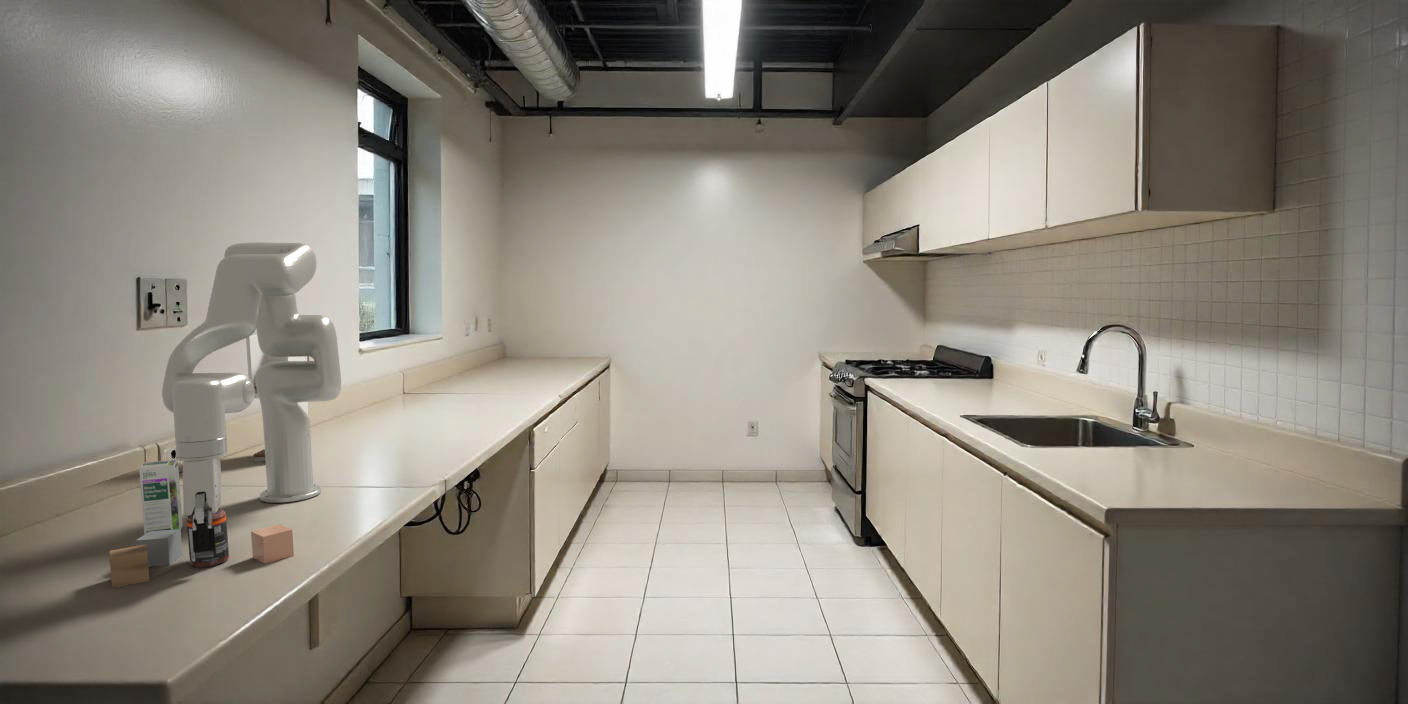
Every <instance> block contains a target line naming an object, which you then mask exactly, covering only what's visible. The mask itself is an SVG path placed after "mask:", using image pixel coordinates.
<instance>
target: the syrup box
mask: <svg viewBox="0 0 1408 704" xmlns="http://www.w3.org/2000/svg"><path fill="white" fill-rule="evenodd" d="M179 470H180V469H179V460H177V458H175V459H167V460H156V461H154V460H153V461H144V462H143V463H142V464H140V467H139V472H138V473H139V485H140V493H141V495H140V496H141V505H142V506H141V507H142V516H143V517H142V518H143V535H145V534H146V533H148V532H149V531H161V530H176V529H181V530H182V528H183V515H182V514H183V513H182V498H181V485H180V471H179Z"/></svg>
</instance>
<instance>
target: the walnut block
mask: <svg viewBox="0 0 1408 704" xmlns="http://www.w3.org/2000/svg"><path fill="white" fill-rule="evenodd" d="M109 567H110V579H111V588H112V589H115V588H120V587H124V586H123V585H125V586H129V585H128V584H130V585H135V584H139V582H140V583H144V581H146V582H149V581H150V571H149V569H150V568H149V567H148V555H147V544H145V545H139V546H136V545H135V546H128V547H124V548H117V549H113V550H109ZM134 583H135V584H134ZM119 586H120V587H119ZM114 587H115V588H114Z"/></svg>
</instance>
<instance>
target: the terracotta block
mask: <svg viewBox="0 0 1408 704" xmlns="http://www.w3.org/2000/svg"><path fill="white" fill-rule="evenodd" d="M250 533H251V535H250V537H251V549H252V551H251V552H252V558H253V559H255V560H257V561H259V562H261V563H263V565H264V564H268V563H272V562H276V561H279V560H282V559H286V558H290V557H291V558H292V557H293V556H295V553H294V536H293V529H292V528H289V527H287V526H285V525H284V524H283V525H282V524H275V525H271V526H268V527H264V528H263V527H262V528H258V529H256V530H251V531H250Z"/></svg>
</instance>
